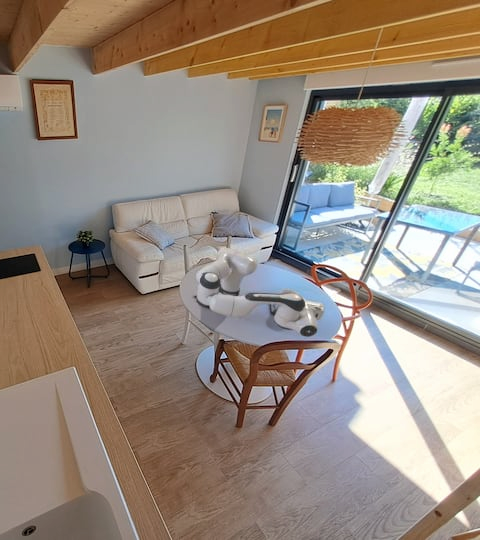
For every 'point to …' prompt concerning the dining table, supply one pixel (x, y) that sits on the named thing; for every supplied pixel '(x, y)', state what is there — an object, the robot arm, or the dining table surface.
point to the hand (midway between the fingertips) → (298, 297)
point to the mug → (288, 292)
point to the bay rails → (272, 308)
